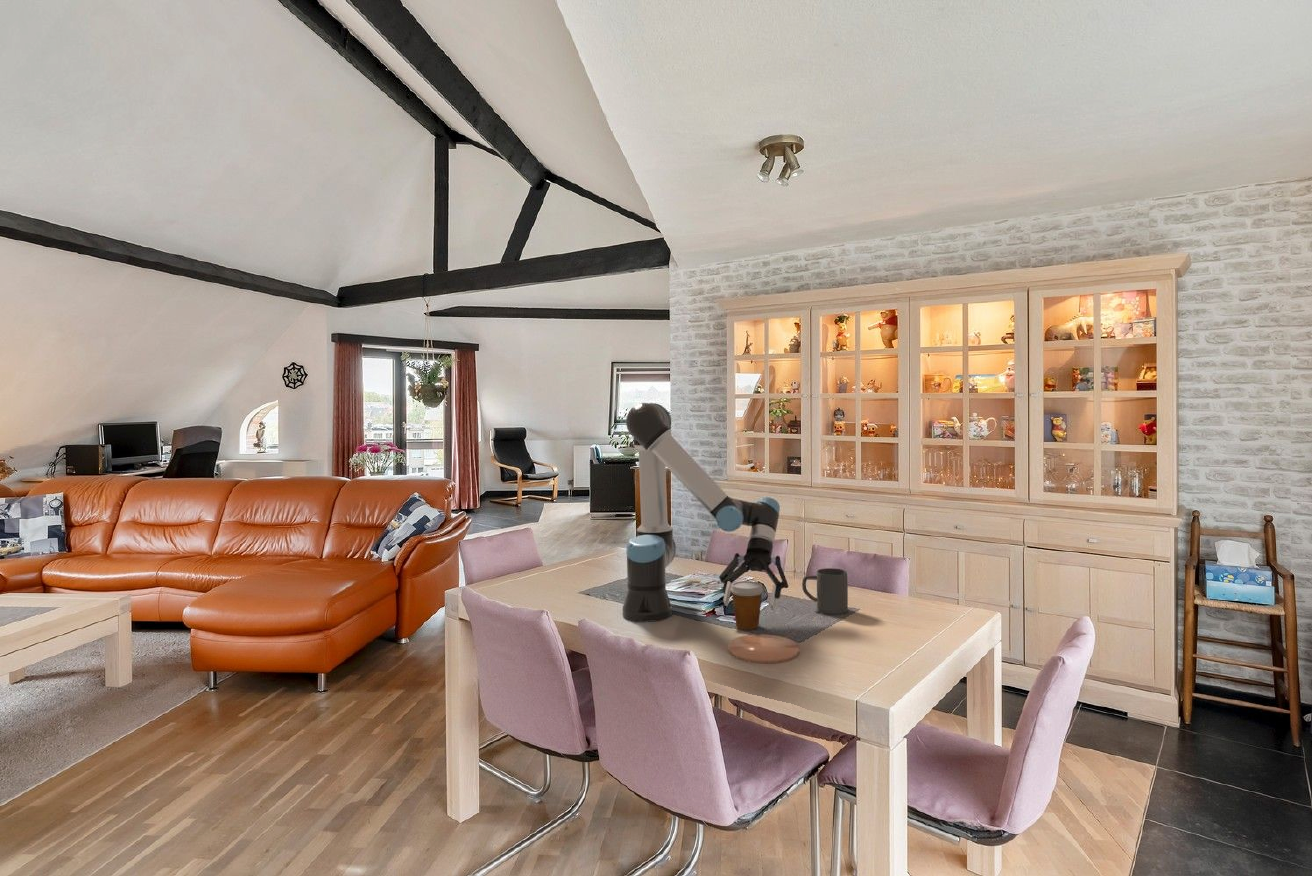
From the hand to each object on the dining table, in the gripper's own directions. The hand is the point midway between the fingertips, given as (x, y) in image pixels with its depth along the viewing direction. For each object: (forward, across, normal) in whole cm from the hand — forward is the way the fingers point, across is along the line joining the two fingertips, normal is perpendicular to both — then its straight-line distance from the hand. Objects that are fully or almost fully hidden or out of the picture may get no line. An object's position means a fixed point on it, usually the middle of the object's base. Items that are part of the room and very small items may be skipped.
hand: (748, 605), depth 193 cm
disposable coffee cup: (+4, +1, -5) cm, 7 cm away
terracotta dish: (+16, -9, +8) cm, 20 cm away
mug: (-13, -17, -22) cm, 31 cm away
